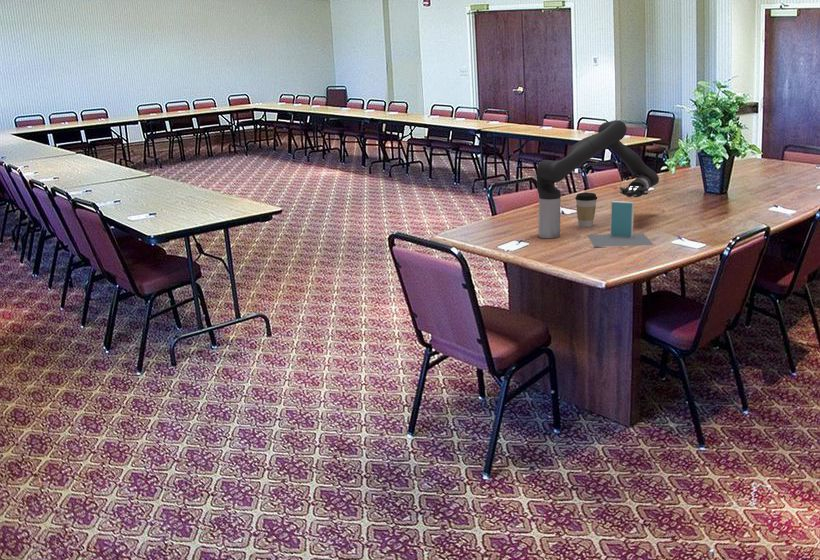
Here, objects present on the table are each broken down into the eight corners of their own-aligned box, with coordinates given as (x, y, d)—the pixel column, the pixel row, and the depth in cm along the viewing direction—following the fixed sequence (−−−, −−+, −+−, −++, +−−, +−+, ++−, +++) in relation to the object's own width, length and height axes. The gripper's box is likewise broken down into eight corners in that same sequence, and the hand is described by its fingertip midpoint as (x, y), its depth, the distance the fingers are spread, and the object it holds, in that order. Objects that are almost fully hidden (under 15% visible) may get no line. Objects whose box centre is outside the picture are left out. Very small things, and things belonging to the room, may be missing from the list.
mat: (594, 247, 319) (594, 246, 319) (587, 236, 338) (587, 234, 338) (653, 246, 317) (653, 244, 317) (643, 234, 336) (643, 233, 336)
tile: (611, 234, 336) (612, 200, 332) (632, 236, 332) (634, 201, 327) (610, 236, 334) (611, 201, 330) (631, 237, 330) (632, 202, 325)
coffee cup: (600, 226, 355) (601, 193, 351) (588, 230, 348) (589, 197, 344) (582, 223, 362) (583, 191, 357) (570, 227, 355) (570, 195, 351)
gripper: (624, 178, 353) (613, 185, 339) (653, 179, 347) (644, 186, 332) (623, 194, 355) (613, 202, 341) (653, 196, 349) (644, 204, 335)
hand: (629, 194), depth 337 cm, fingers closed
